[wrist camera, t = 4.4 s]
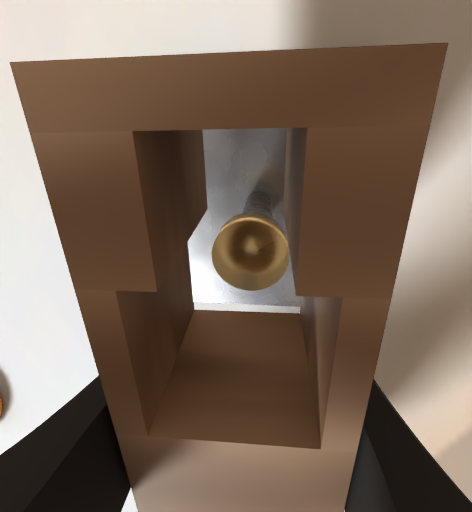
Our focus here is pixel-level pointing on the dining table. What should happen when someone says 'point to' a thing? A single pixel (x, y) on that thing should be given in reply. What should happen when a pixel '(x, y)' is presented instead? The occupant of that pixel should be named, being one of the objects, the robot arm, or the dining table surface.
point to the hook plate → (225, 202)
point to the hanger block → (178, 265)
